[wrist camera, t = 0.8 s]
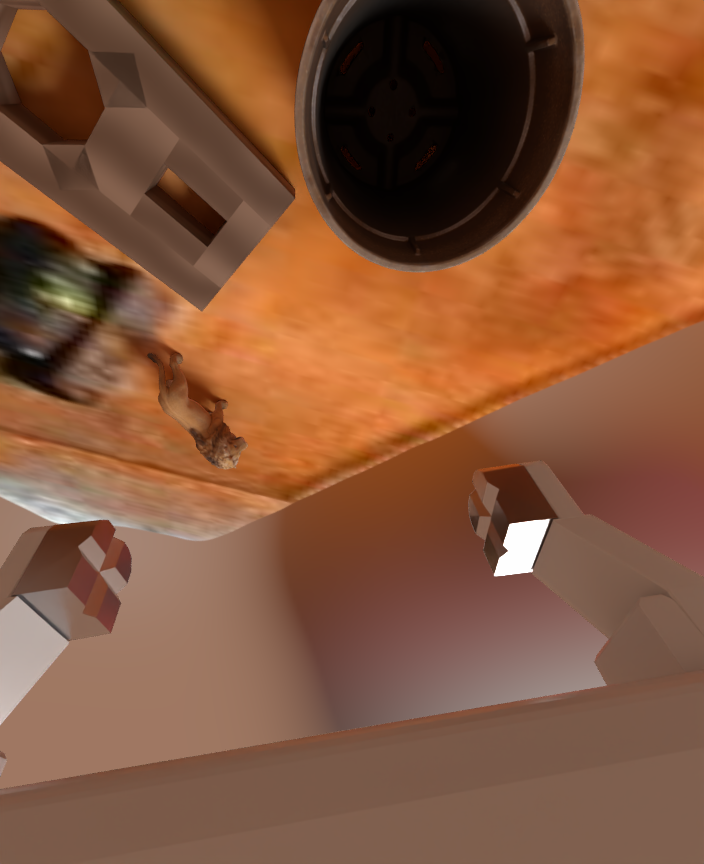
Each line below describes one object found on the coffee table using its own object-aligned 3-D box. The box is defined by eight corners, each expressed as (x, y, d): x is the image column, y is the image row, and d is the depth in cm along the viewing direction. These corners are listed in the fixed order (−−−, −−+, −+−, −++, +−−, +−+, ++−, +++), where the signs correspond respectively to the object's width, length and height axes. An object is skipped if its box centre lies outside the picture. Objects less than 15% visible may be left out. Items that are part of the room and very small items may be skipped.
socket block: (3, -121, 26) (-36, -150, 22) (295, 189, 38) (295, 198, 35) (-67, 82, 31) (-106, 81, 28) (208, 296, 43) (202, 311, 40)
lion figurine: (257, 415, 54) (252, 462, 48) (229, 435, 56) (220, 484, 49) (163, 338, 46) (140, 381, 39) (134, 365, 48) (107, 411, 41)
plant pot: (400, 251, 43) (443, 316, 30) (260, 144, 36) (242, 172, 23) (519, 85, 35) (642, 82, 23) (371, -95, 28) (432, -240, 16)
